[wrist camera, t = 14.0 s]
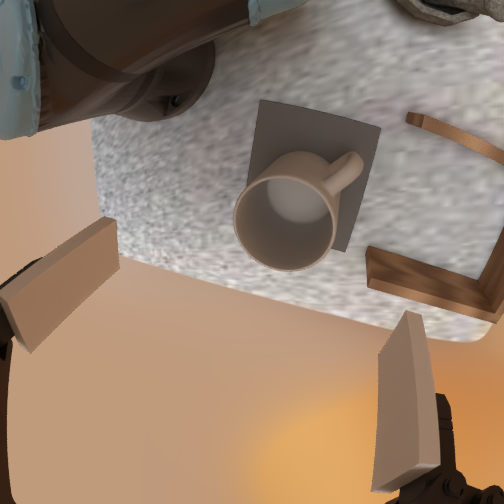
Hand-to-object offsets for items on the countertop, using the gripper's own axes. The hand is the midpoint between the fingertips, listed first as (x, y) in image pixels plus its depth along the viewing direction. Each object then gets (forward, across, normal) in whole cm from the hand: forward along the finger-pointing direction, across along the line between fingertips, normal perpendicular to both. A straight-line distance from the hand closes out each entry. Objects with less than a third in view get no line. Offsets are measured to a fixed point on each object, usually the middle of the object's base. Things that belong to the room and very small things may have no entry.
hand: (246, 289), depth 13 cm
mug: (+23, +1, -1) cm, 23 cm away
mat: (+23, 0, -1) cm, 23 cm away
